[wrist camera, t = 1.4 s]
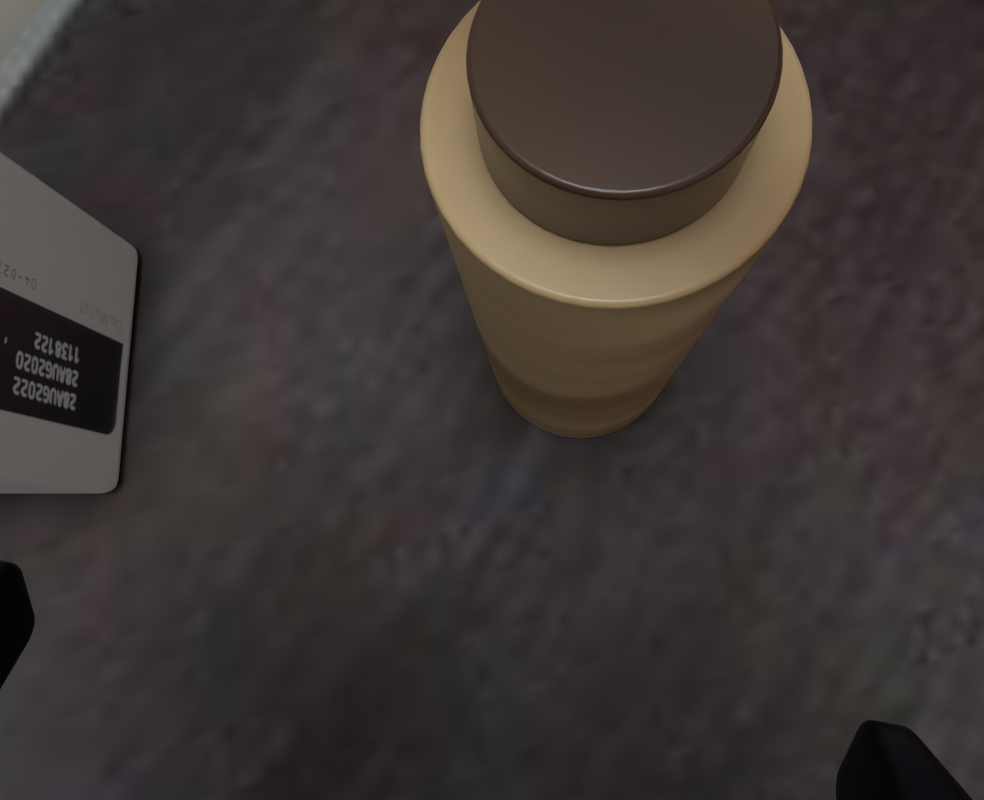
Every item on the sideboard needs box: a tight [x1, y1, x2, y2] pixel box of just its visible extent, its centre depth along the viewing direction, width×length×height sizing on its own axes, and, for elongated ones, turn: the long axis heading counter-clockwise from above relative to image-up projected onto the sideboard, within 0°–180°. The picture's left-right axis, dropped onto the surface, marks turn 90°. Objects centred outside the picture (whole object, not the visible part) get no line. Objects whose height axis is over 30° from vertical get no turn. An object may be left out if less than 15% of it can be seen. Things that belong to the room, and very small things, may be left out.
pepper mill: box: [420, 0, 812, 438], centre depth 16 cm, size 5×5×14 cm
